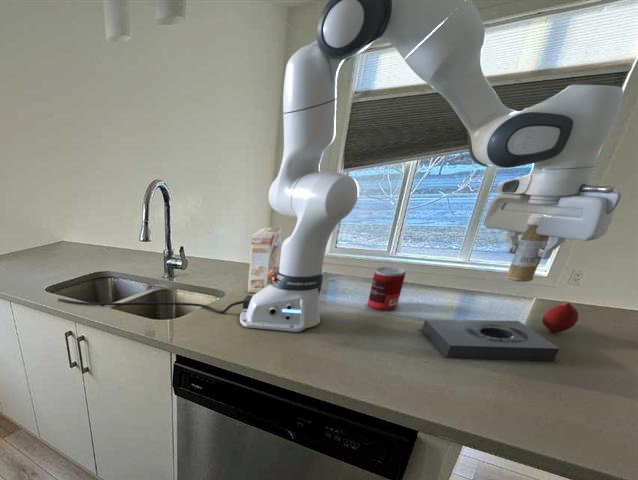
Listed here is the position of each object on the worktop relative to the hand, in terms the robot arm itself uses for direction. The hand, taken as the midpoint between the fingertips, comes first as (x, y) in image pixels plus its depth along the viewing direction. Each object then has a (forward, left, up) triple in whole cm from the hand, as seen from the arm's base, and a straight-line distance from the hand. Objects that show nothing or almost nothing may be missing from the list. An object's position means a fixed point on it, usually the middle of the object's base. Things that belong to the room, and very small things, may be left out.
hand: (527, 255), depth 86 cm
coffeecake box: (-51, +46, -21) cm, 72 cm away
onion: (+16, +8, -21) cm, 28 cm away
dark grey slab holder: (-2, 0, -21) cm, 21 cm away
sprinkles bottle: (0, 0, -5) cm, 5 cm away
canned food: (-17, +26, -21) cm, 37 cm away
